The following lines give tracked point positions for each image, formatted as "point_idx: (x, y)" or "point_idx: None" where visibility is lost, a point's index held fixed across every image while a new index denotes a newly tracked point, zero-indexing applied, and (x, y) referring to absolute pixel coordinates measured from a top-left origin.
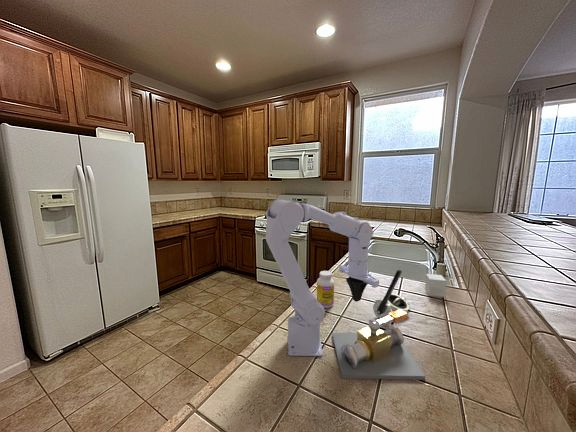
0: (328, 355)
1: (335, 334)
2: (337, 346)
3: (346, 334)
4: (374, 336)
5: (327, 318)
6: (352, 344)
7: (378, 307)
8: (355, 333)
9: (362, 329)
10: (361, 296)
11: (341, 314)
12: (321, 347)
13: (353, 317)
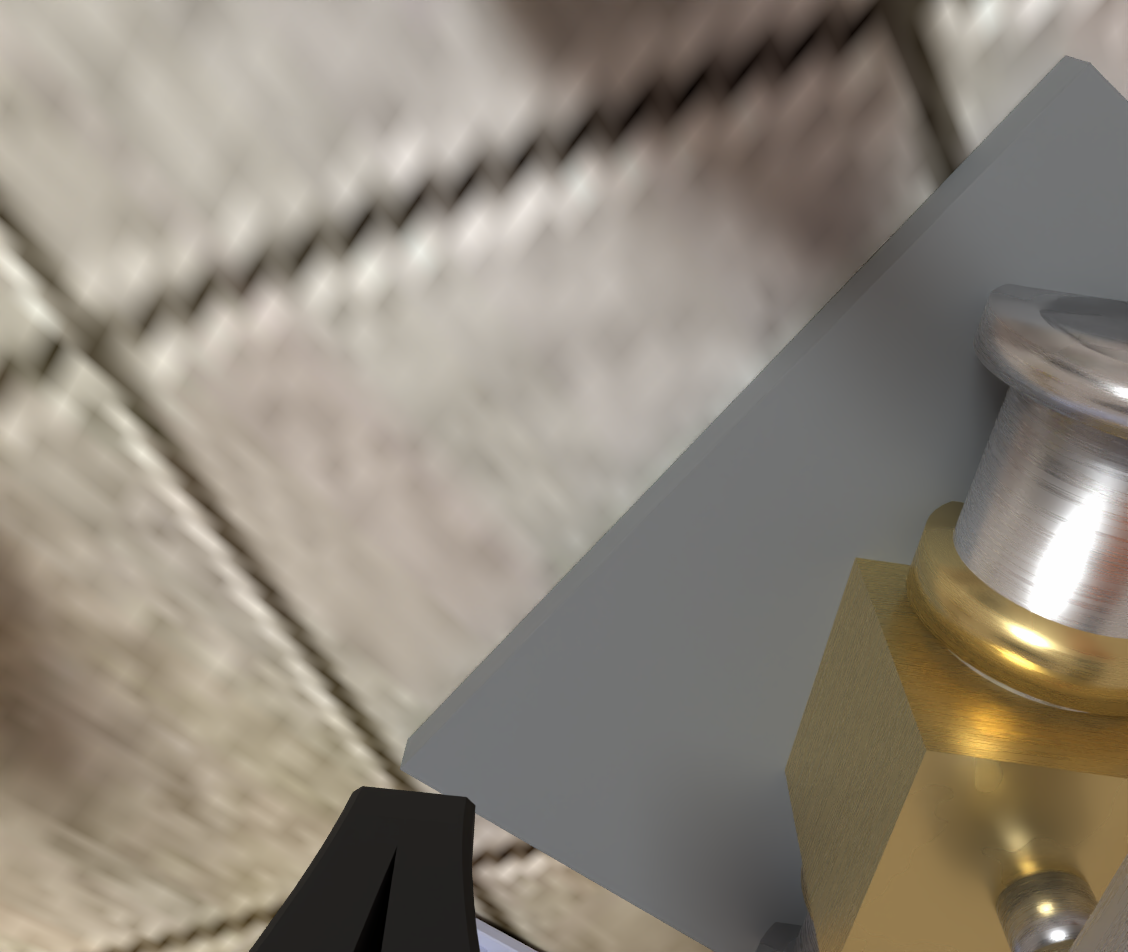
0: (612, 933)
1: (447, 766)
2: (613, 872)
3: (531, 680)
4: None
5: (58, 546)
6: (704, 755)
7: None
8: (593, 586)
9: (863, 932)
10: (469, 877)
11: (51, 300)
12: (506, 945)
13: (226, 203)
